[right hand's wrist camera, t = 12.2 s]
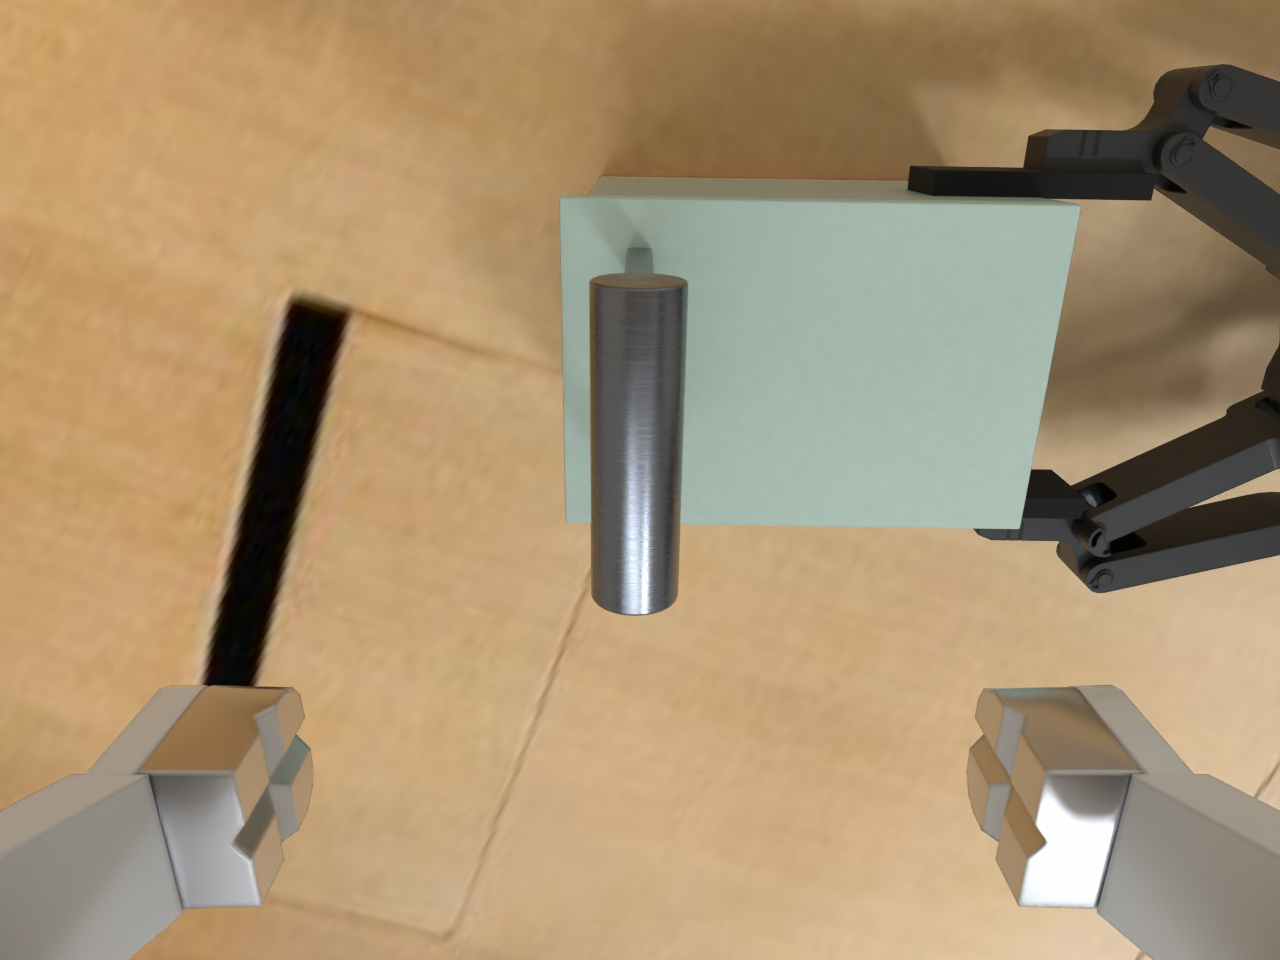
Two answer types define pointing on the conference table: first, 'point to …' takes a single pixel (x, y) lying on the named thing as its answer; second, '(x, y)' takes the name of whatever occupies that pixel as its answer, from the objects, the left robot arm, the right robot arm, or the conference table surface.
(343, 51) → the conference table surface
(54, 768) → the conference table surface
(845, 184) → the chest
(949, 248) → the lid
